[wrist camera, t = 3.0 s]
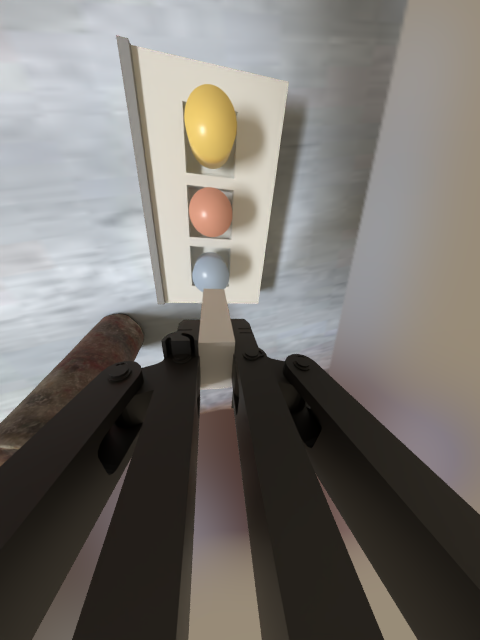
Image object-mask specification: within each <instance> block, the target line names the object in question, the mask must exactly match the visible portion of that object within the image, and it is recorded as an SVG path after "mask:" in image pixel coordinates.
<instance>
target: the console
mask: <svg viewBox="0 0 480 640" xmlns="http://www.w3.org/2000/svg"><path fill="white" fill-rule="evenodd" d="M116 37H117V44H118V50H119V57H120V63H121V70H122V76H123V82H124V89H125V95H126V102H127V108H128V115H129V121H130V128H131V134H132V140H133V147H134V153H135V160H136V166H137V173H138V179H139V185H140V192H141V198H142V205H143V211H144V218H145V224H146V231H147V237H148V243H149V250H150V256H151V263H152V269H153V276H154V282H155V288H156V295H157V301H158V304H165V303H202V299H203V292H201V291H200V290H199V289H198V288H197V287H196V286H195V284H194V282H193V278H192V273H193V269H194V266H195V263H196V260H197V258H198V257H199V256H200V255H201V254H203V253H206V252H214V253H217V254H219V255H220V256H221V257H222V258H223V259H224V261H225V263H226V266H227V269H228V272H229V282H228V285H227V286H226V288H225V289H224V290H225V295H226V300H227V303H244V304H258V300H259V293H260V286H261V278H262V271H263V264H264V257H265V250H266V242H267V235H268V228H269V221H270V214H271V206H272V199H273V192H274V185H275V178H276V170H277V163H278V156H279V149H280V142H281V134H282V127H283V120H284V113H285V106H286V98H287V91H288V84H289V82H287V81H282V80H278V79H274V78H270V77H265V76H261V75H257V74H253V73H248V72H244V71H240V70H236V69H231V68H227V67H223V66H218V65H214V64H210V63H206V62H201V61H197V60H193V59H189V58H184V57H180V56H176V55H172V54H167V53H163V52H159V51H155V50H150V49H146V48H142V47H137V46H133V45H131V44H130V42H129V40H128V38H124V37H120V36H116ZM203 84H212V85H215V86H217V87H219V88H220V89H221V90H223V91H224V92H225V93H226V95H227V96H228V97H229V99H230V100H231V102H232V104H233V107H234V110H235V113H236V119H237V132H236V137H235V140H234V144H233V147H232V150H231V153H230V156H229V158H228V160H227V162H226V163H225V164H224V165H223V166H221V167H220V168H217V169H209V168H206V167H204V166H202V165H201V164H200V163H199V162H198V161H197V160H196V158H195V157H194V155H193V153H192V150H191V147H190V143H189V139H188V135H187V131H186V127H185V120H184V112H185V106H186V102H187V99H188V97H189V95H190V94H191V92H192V91H193V90H194V89H195V88H197V87H198V86H200V85H203ZM205 187H212V188H216V189H218V190H220V191H221V192H223V193H224V194H225V195H226V196H227V198H228V199H229V201H230V204H231V207H232V222H231V224H230V226H229V228H228V230H227V231H226V232H225V233H224V234H222V235H220V236H217V237H208V236H205V235H203V234H201V233H200V232H198V231H197V230H196V228H195V227H194V226H193V224H192V222H191V219H190V215H189V205H190V201H191V199H192V197H193V195H194V194H195V193H196V192H197V191H198V190H200V189H202V188H205Z"/></svg>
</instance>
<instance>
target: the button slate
mask: <svg viewBox="0 0 480 640" xmlns="http://www.w3.org/2000/svg"><path fill="white" fill-rule="evenodd" d="M192 278H193V282H194V284H195V286H196V287H197V288H198V289H199V290H200V291H201V292H203V289H225V288H226V286H227V285H228V282H229V272H228V269H227V266H226V263H225V261H224V259H223V258H222V257H221V256H220V255H219V254H217V253H214V252H206V253H203V254H201V255H200V256H199V257H198V258H197V260H196V263H195V266H194V269H193V273H192Z"/></svg>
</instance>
